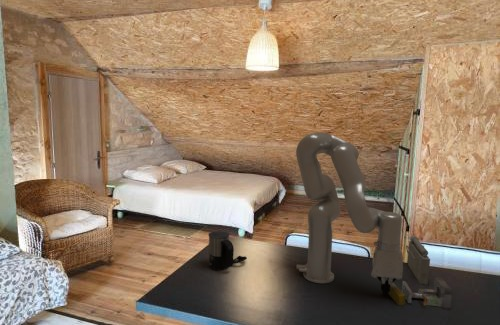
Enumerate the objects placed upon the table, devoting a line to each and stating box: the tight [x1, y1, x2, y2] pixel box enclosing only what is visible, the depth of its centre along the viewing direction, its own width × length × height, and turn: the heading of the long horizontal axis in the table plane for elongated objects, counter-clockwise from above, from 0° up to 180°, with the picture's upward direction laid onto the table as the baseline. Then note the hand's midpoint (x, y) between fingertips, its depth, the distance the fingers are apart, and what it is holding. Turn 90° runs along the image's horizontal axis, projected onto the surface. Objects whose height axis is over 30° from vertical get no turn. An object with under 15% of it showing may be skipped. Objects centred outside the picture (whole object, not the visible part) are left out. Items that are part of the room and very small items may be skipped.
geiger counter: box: [405, 235, 431, 285], centre depth 145 cm, size 14×6×25 cm
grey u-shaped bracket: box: [420, 276, 453, 309], centre depth 122 cm, size 8×9×7 cm
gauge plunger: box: [401, 280, 437, 307], centre depth 121 cm, size 11×10×4 cm
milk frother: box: [207, 230, 248, 271], centre depth 147 cm, size 14×16×15 cm
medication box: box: [385, 278, 406, 306], centre depth 124 cm, size 12×3×4 cm, turn 3°
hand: (385, 292), depth 124 cm, fingers closed
